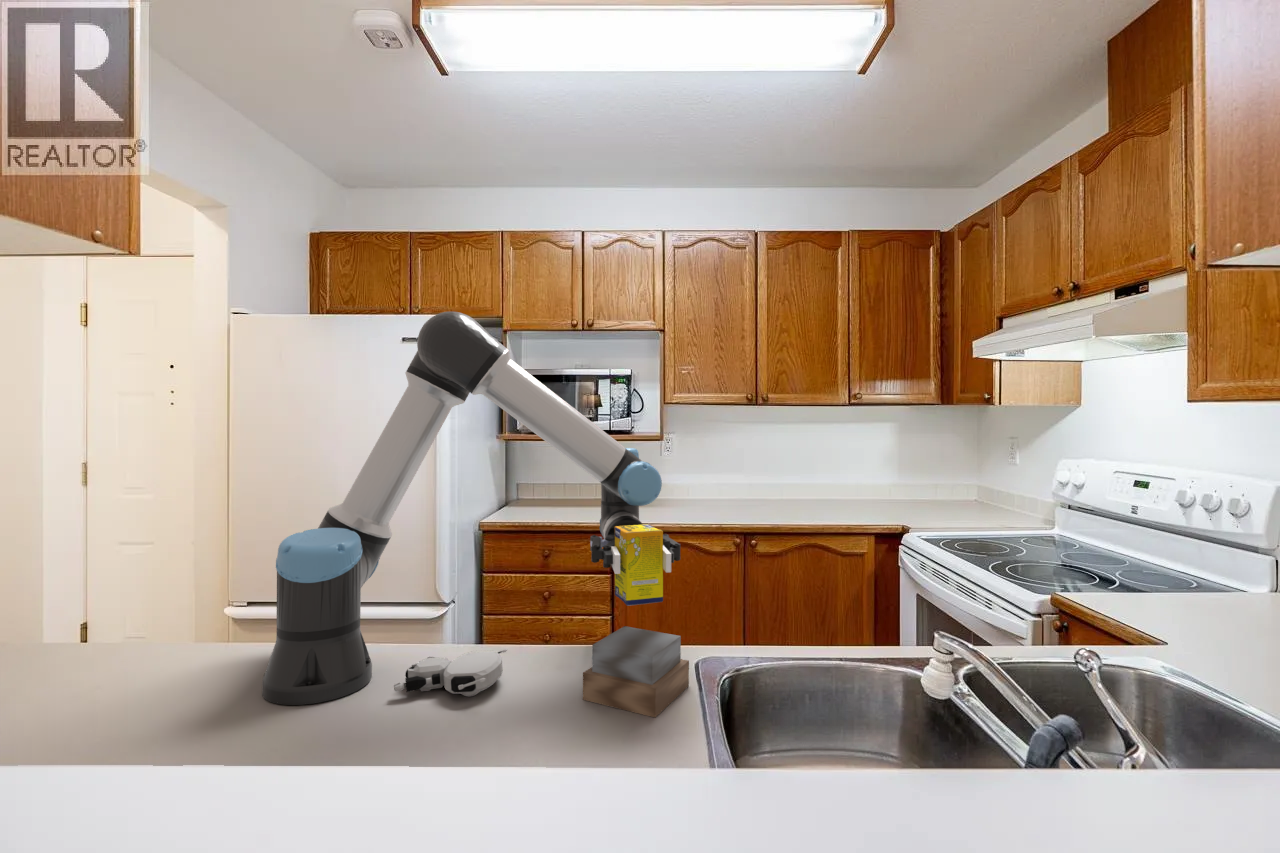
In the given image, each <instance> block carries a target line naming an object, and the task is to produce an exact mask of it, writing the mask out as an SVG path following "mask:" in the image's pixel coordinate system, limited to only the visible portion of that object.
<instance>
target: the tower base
mask: <svg viewBox="0 0 1280 853" xmlns="http://www.w3.org/2000/svg"><path fill="white" fill-rule="evenodd" d="M681 639H682V638H681V635H676V634H671V633H666V632H665V633H664V632H660V631H654V630H650V629H649V630H648V629H643V628H636V627H631V626H625V625H624V626H622V627H621V628H619V629H617V630H616V631H613V632H612V633H610V634H608V635H607V636H605V637H603V638H602V639H600V640H598V641H595V643H593V644H592V650H591V652H592V654H591V656H592V657H591V662H592V663H591V664H592V666H591V667H589V668H587V669H586V670H585V671H583V672H582V700H583V701H587V702H590V703H595V704H599V705H602V706H608V707H611V708H615V709H619V710H623V711H627V712H631V713H635V714H638V715H644V716H647V717H651V718H652V717H653V718H657V717H658V716H659V715H660V714H661V713H662V712H663V711H664V710H665V709H667V707H668V706H669V705H671V703H673V702H674V701H675V700H676V699H677V698H678V697H679V696H680V695H681V694H682V693H684V691H685V690H686V689H687V688H688V687H689V686H690V685H689V684H690V683H689V682H690V681H689V679H690V677H689V676H690V661H689V660H687V659H683V658H681V657H682V655H681V650H682V649H681V645H682V644H681V642H682V640H681Z"/></svg>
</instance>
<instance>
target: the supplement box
mask: <svg viewBox="0 0 1280 853" xmlns="http://www.w3.org/2000/svg"><path fill="white" fill-rule="evenodd" d="M663 534H664V531H663V530H662V529H658V528H656V527H654V526H652V525H651V524H647V523H646V524H645V523H644V524H643V525H628V526H616V527H615V546H616V547H617V549H618V551H619V553H620V574H615V573H614V596H616V597H617V598H619V599H620V600H621V601H622V602H623V603H624V604H625V605H626V606H629V607H630V606H637V605H639V606H640V605H647V604H655V603H663V601H664V569H663Z"/></svg>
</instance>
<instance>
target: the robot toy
mask: <svg viewBox="0 0 1280 853" xmlns="http://www.w3.org/2000/svg"><path fill="white" fill-rule="evenodd" d="M507 651H508V649H507V648H504V649H501V650H500V651H495V650H479V651H477V650H476V651H474V650H473V651H469V652H466V653H463V654H461V655H459V656H457V657H456V658H455V659H453V660H450V659H449V658H448V657H434V656H429V657H427V658H423V659H422V660H420V661H418V662H415V663H413V664H411V666H409V667H408V668H407V669H406V671H405V675H404V676H405V679H404V680H405V682H402V681H399V682H396V683H394V684H393V691H394V692H401V691H403V690H405V692H406V693H410V692H414V691H419V690H420V692H429V691H431V690H434V689H441V688H443V686H444V688H445V690H446V691H447V692H449V693H450V694H461V695H462V696H464V697H467V698H468V697H474V696H476V695H477V694H479V693H480V692H482V691H484V690H487V689H488V688H491V686H492V685H494V684H495V683H496V682H497V681H498V679H500V678H501V676H502V674H503V670H504V669H503V668H504V667H503V656H502V655H501V654H502V653H506V652H507Z"/></svg>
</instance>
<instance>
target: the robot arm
mask: <svg viewBox="0 0 1280 853" xmlns="http://www.w3.org/2000/svg"><path fill="white" fill-rule="evenodd" d="M416 346H417V347H416V348H417V351H416V353H415V354H414V356H413V357H412V360H411V361H410V363H409V366H408V367H407V369H406V370H405V372H404V373H405V375H406V379H407V387H406V389H405V391H404V392H403V395H402V396H401V397H400V400H399V401H398V403H397V405H396V407H395V408H394V410H393V412H392V414H391V416H390V417H389V420H388V421H387V423H386V425H385V427H384V428H383V430H382V432H381V433H380V436H378V439H377V441H376V442H375V445H374V446H373V448H372V450H371V452H370V453H369V455H368V457H367V459H366V461H365V462H364V464H363V466H362V467H361V469H360V471H359V473H358V475H357V477H356V479H355V480H354V482H353V484H352V485H351V487H350V489H349V491H348V493H347V494H346V496H345V498H344V500H343V501H342V503H340V504H338V505H334V506H332V507H329V508H328V510H327V511H326V513H325V515H324V517H323V518H322V520H321V522H320V524H319V525H318V528H312V529H307V530H304V531H302V532H295V533H293V534H290V535H289V536H287V537H285V538H284V539H283V540H282V541H281V542H280V543H279V545H278V549H277V557H276V559H275V568H276V569H275V570H276V634H275V635H276V636H275V637H276V640H275V643H274V646H273V649H272V652H271V654H270V657H269V660H268V664H267V666H266V670H265V673H264V674H263V677H262V682H261V683H262V684H261V685H262V687H261V688H262V690H261V693H262V695H261V696H262V697H263V698H264V700H265V701H267V702H269V703H273V704H278V705H286V706H292V705H293V706H301V705H312V704H317V703H318V704H319V703H323V702H328V701H332V700H337V699H340V698H343V697H345V696H348V695H351V694H353V693H355V692H357V691H359V690H361V689H363V688H365V687H366V685H367V684H369V683H370V681H371V680H372V677H373V676H372V674H373V663H372V662H373V661H372V660H371V657H370V653H369V651H368V648H367V645H366V642H365V638H364V637H363V633H362V631H361V600H362V598H361V594H362V593H361V592H362V590H361V589H362V588H363V586H364V585H365V583H367V581H368V580H369V579H370V578H371V577H372V576H373V574H374V573H375V572H376V569H377V567H378V566H379V562H380V561H379V560H380V559H381V556H382V555H383V553H384V551H385V549H386V547H387V546H388V544H389V541H390V539H391V537H392V536H393V532H392V530H391V527H390V522H391V520H392V518H393V516H394V514H395V512H396V511H397V509H398V507H399V505H400V504H401V502H402V500H403V497H404V496H405V494H406V492H407V491H408V489H409V487H410V485H411V484H412V481H413V480H414V477H416V474H417V472H418V471H419V468H420V466H421V465H422V463H423V461H424V460H425V458H426V456H427V454H428V452H429V450H430V448H431V446H432V445H433V443H434V441H435V440H436V437H437V435H438V434H439V432H440V430H441V428H442V426H443V425H444V423H445V421H446V419H447V417H448V416H449V413H450V412H451V410H452V408H454V407H456V406H459V405H462V404H464V403H465V402H466V401H467V398H468V397H469V395H470V394H472V395H473V396H476V395H481V396H482V395H483V396H484V397H485V398H487V399H488V400H490V401H491V402H492V403H494V405H496V406H497V407H499V408H500V409H501V410H503V411H504V412H505V413H507V414H508V415H509V416H511V417H512V418H513V419H515V420H516V421H518V422H519V423H521V425H523V426H524V427H526V428H527V429H528V430H530V431H531V432H532V433H534V434H536V436H538V437H539V438H540V439H542V440H543V441H545V442H546V443H548V445H550V446H551V447H552V448H553V449H555V450H556V451H558V452H559V453H561V455H563V456H565V458H567V459H568V460H570V461H571V462H572V463H574V464H575V465H576V466H578V467H579V468H581V470H583V471H584V472H586V473H587V474H588V475H590V476H591V477H592V478H594V479H595V480H597V481H598V482H599V483H600V490H601V491H600V495H601V497H600V498H601V499H600V500H601V501H600V519H599V531H600V534H601V536H598V535H596V534H592V535H590V540H589V542H590V543H589V544H590V547H589V548H590V549H589V550H590V551H591V554H590V555H591V557H590V558H591V563H594V564H596V563H599V562H600V560H602V562H603V563H602V565H603V566H602V567H603V568H605V569H608V568H609V569H610V568H612V570H613V572H614V575H615V574H620V553H619V551H618V549H617V547H616V546H615V527H616V526H628V525H644V524H643V523H642V521H641V520H640V507H642V506H647V505H651V504H652V503H653V502H655V501H656V499H658V497H659V496H660V493H661V491H662V485H663V483H662V478H661V475H660V474H661V473H659V471H658V469H656V468H655V467H654V466H653V465H652V464H650V463H649V462H647V461H643V460H641V458H640V457H639V456H640V454H639V451H638V449H637V448H635V447H625V446H624V445H622V443H620V442H618V441H617V440H616V439H615V438H613V437H612V436H611V435H610V434H609V433H607V432H606V431H604V430H603V429H602V428H600V427H599V426H598V425H596V424H595V423H594V422H593V421H591V420H590V419H589V418H588V417H586V416H585V415H583V414H582V413H581V412H580V411H578V410H577V409H576V408H575V407H574V406H573V405H571V404H569V403H568V402H567V401H566V400H564V399H563V398H561V397H560V396H559V395H558V394H557V393H555V392H554V391H553V390H551V389H550V388H549V387H547V386H546V385H545V384H544V383H542V382H541V381H540V380H538V379H537V378H536V377H534V376H533V375H532V374H530V372H528V371H527V370H526V369H525V368H523V367H522V366H520V365H519V364H518V363H517V362H516V361H514V360H513V359H511V355H510V354H511V353H510V350H509V349H508V348H507V347H506V346H504V345H503V344H502V343H501V342H500V341H499V340H497V338H495V337H493V335H491V333H489V332H488V331H487V330H486V329H485V328H484V327H483V326H482V325H481V324H480V323H479V322H477V320H476V319H474V318H473V317H471V316H469V315H468V314H465V313H462V312H458V311H444V312H440V313H437V314H434V315H433V316H431V317H430V318H429V319H428V320H427V321H425V322H424V324H423V325H422V327H421V328H420V330H419V332H418V336H417V343H416ZM675 561H676V562H678V561H681V543H679V542H677V541H676V540H674V539H672V538H671V537H670V535H669V534H667V533H663V571H664V572H665V573H672V564H673V563H674V562H675Z"/></svg>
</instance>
